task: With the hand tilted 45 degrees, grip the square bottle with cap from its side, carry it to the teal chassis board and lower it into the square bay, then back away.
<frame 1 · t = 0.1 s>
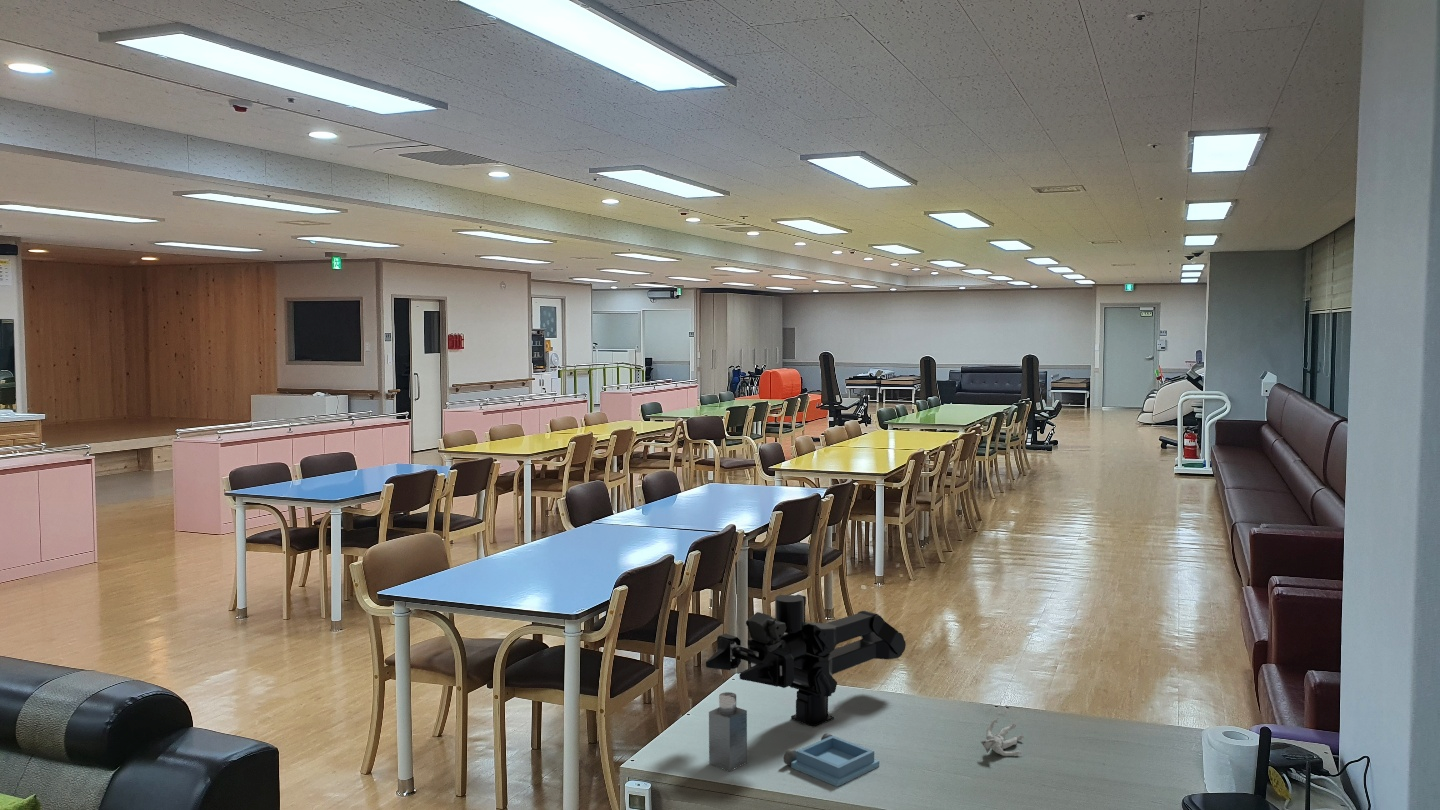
hand: (722, 670, 196), 17 cm above the table, tool horizontal, fingers open, 9 cm apart
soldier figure: (1002, 750, 200), on the table
chassis: (835, 766, 192), on the table
square bottle with cap: (728, 763, 194), on the table
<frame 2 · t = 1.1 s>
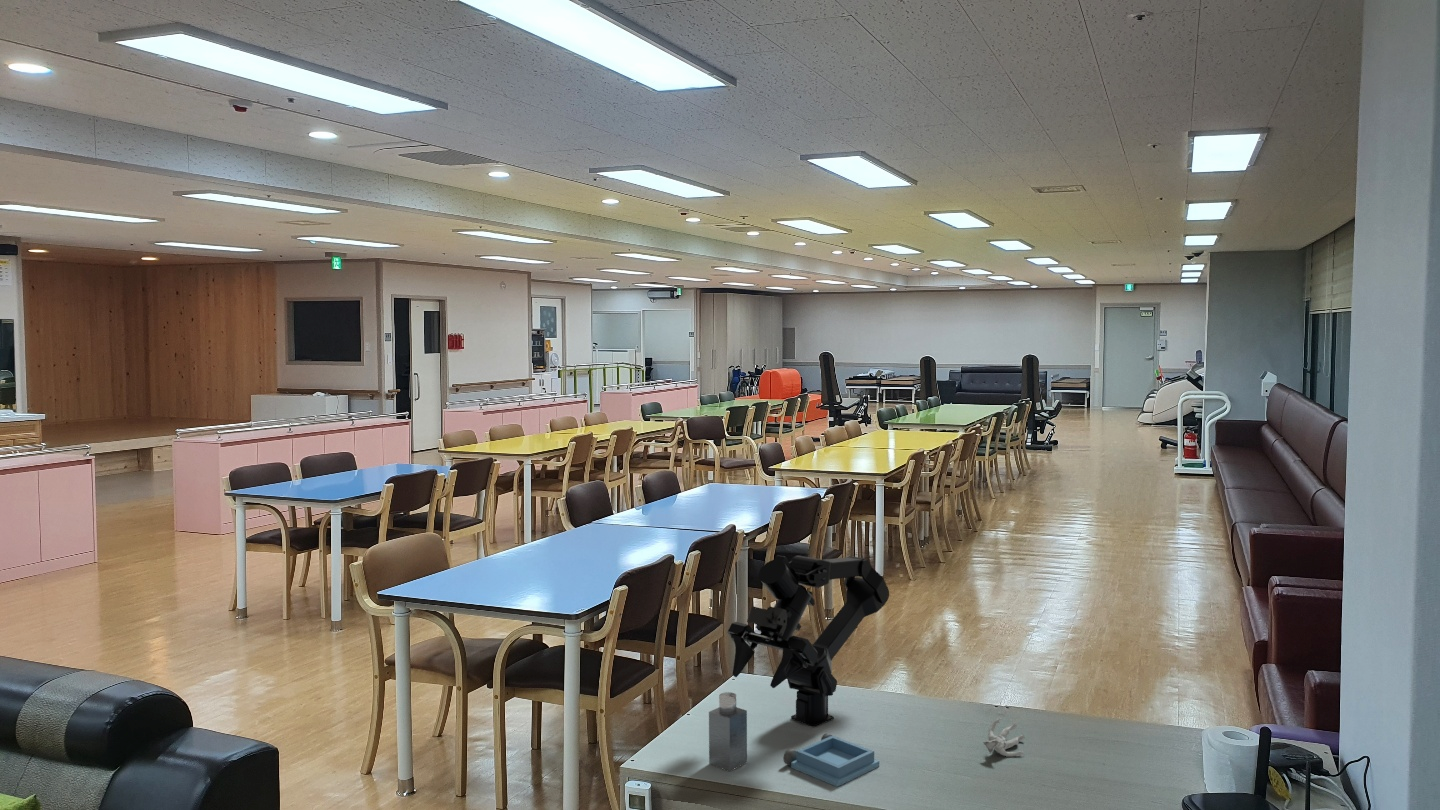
hand: (752, 681, 199), 14 cm above the table, tool tilted 45°, fingers open, 9 cm apart
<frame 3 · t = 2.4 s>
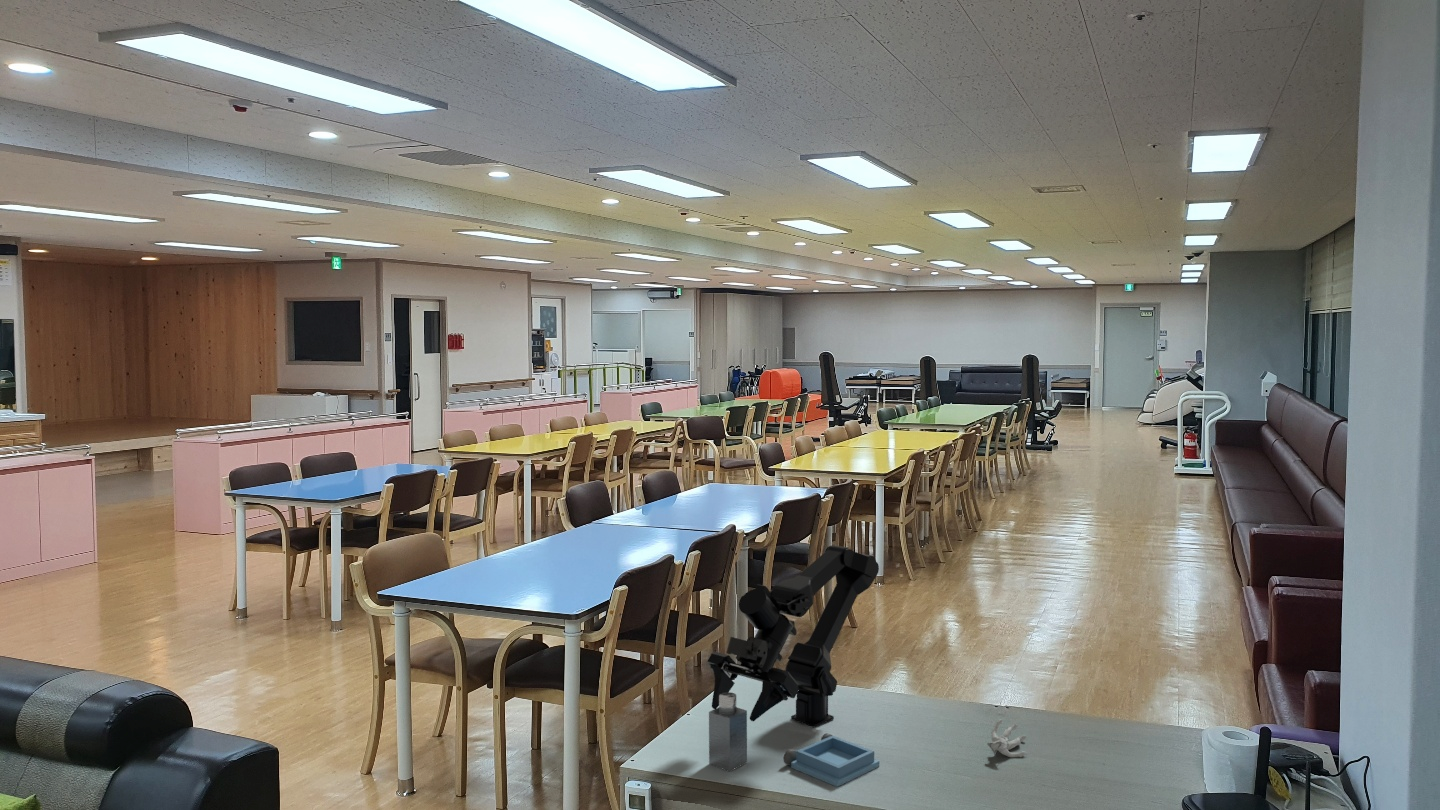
hand: (731, 714, 194), 9 cm above the table, tool tilted 45°, fingers open, 9 cm apart
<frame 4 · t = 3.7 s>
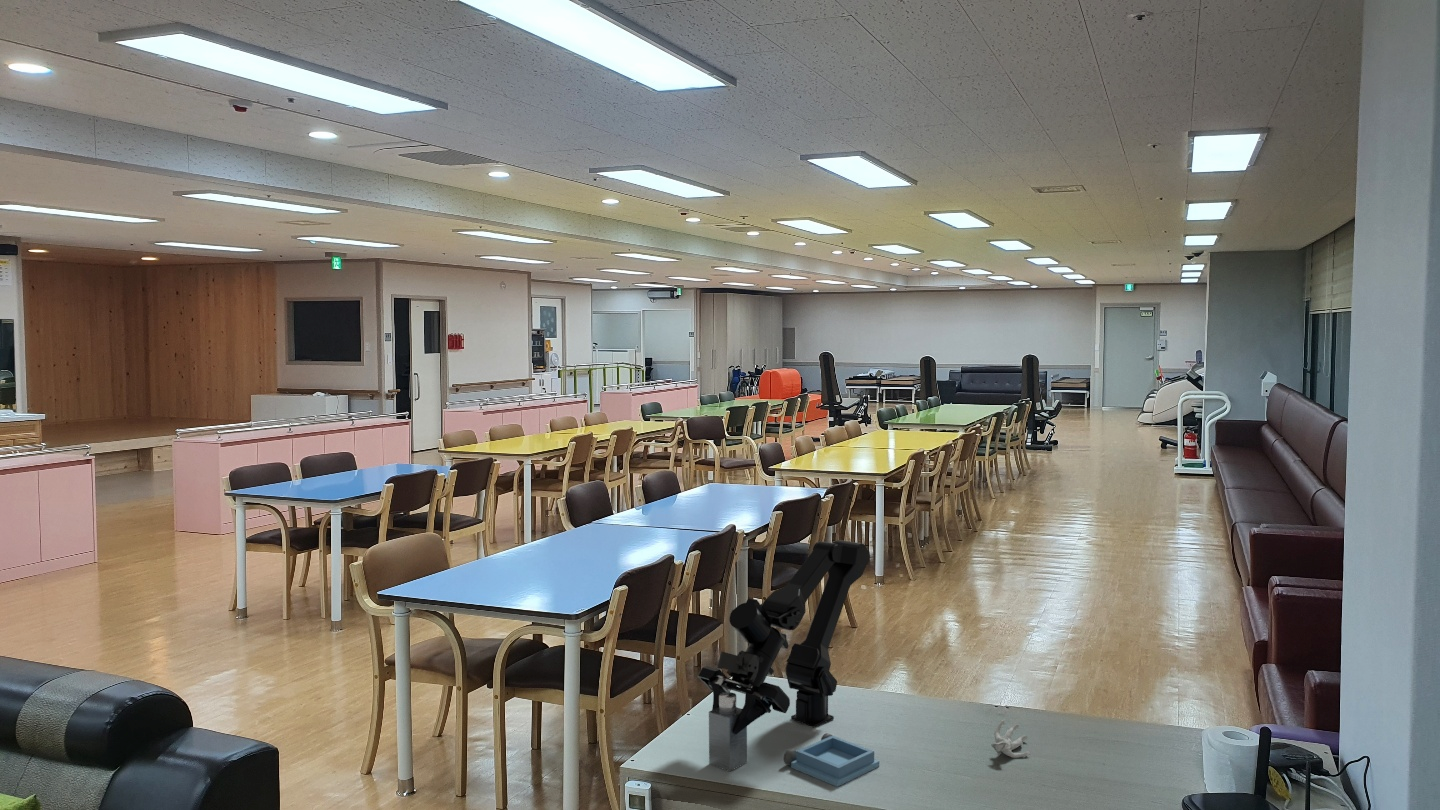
hand: (722, 729, 192), 7 cm above the table, tool tilted 45°, fingers closed on square bottle with cap, 5 cm apart
square bottle with cap: (728, 763, 194), on the table, touching gripper
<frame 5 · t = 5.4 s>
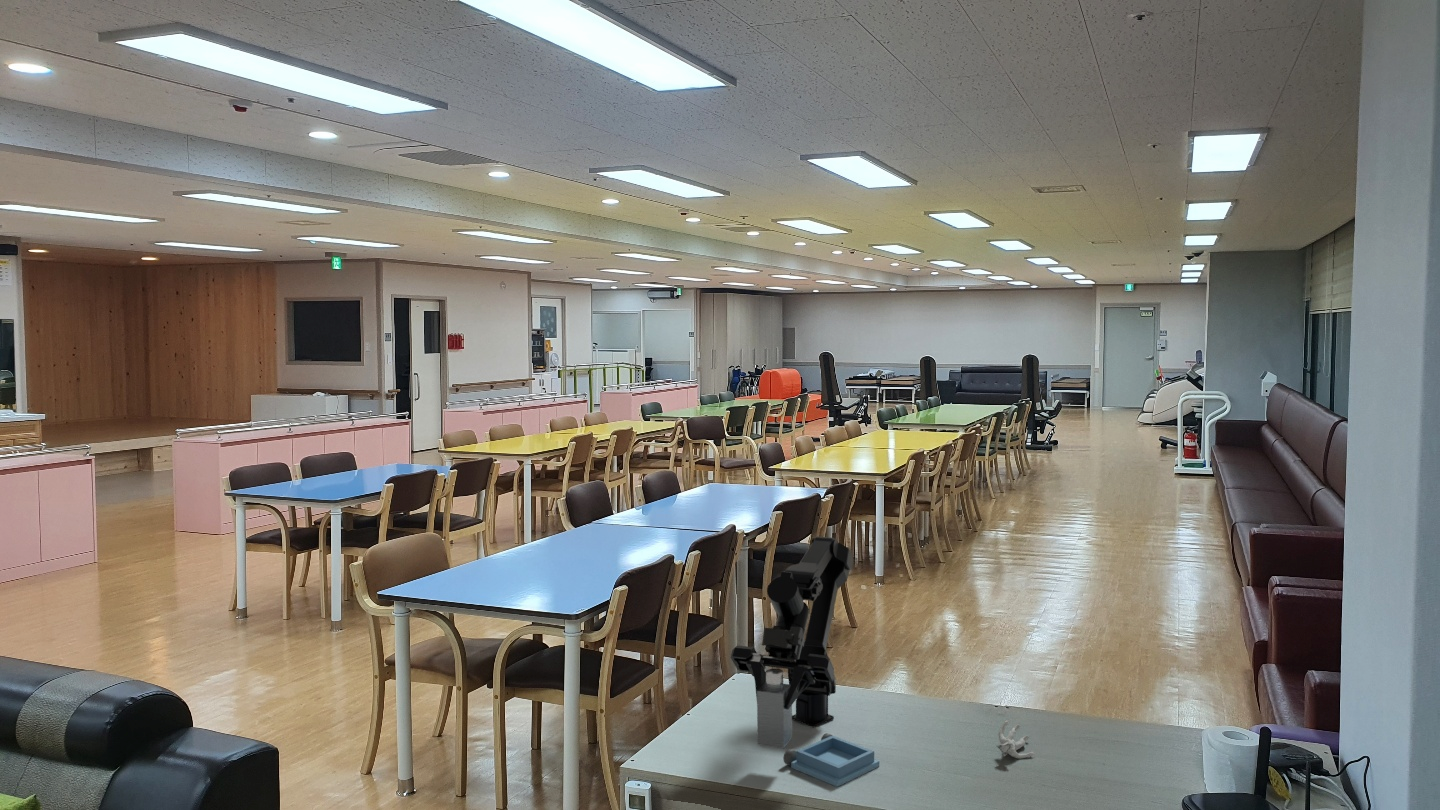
hand: (772, 706, 189), 12 cm above the table, tool tilted 45°, fingers closed on square bottle with cap, 5 cm apart
square bottle with cap: (774, 740, 191), point 5 cm above the table, touching gripper
when the fingers open (9 cm above the table, at t = 7.2 s): square bottle with cap stays where it is, resting on chassis.
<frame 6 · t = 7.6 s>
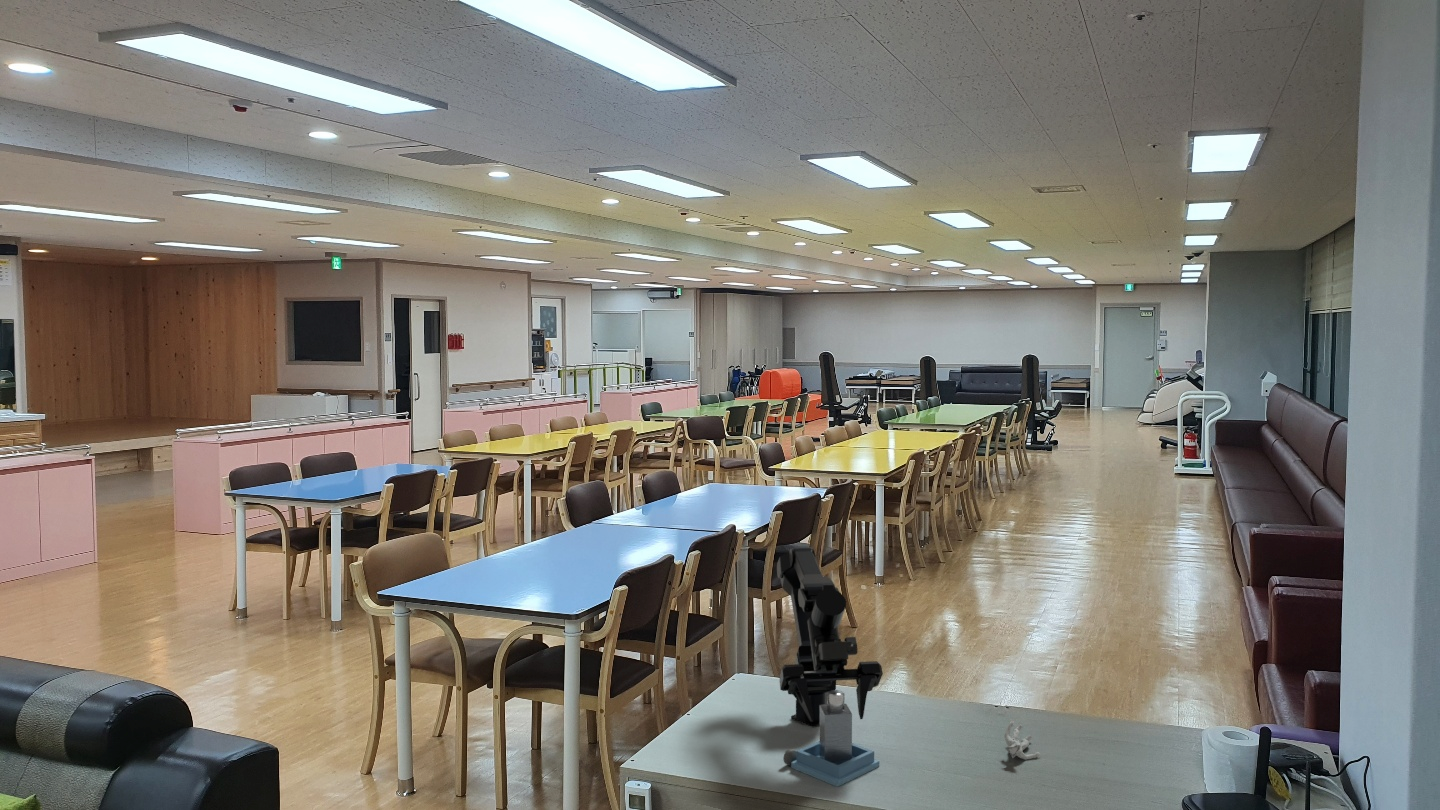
hand: (837, 719, 190), 10 cm above the table, tool tilted 45°, fingers open, 9 cm apart
square bottle with cap: (835, 761, 192), point 1 cm above the table, touching chassis
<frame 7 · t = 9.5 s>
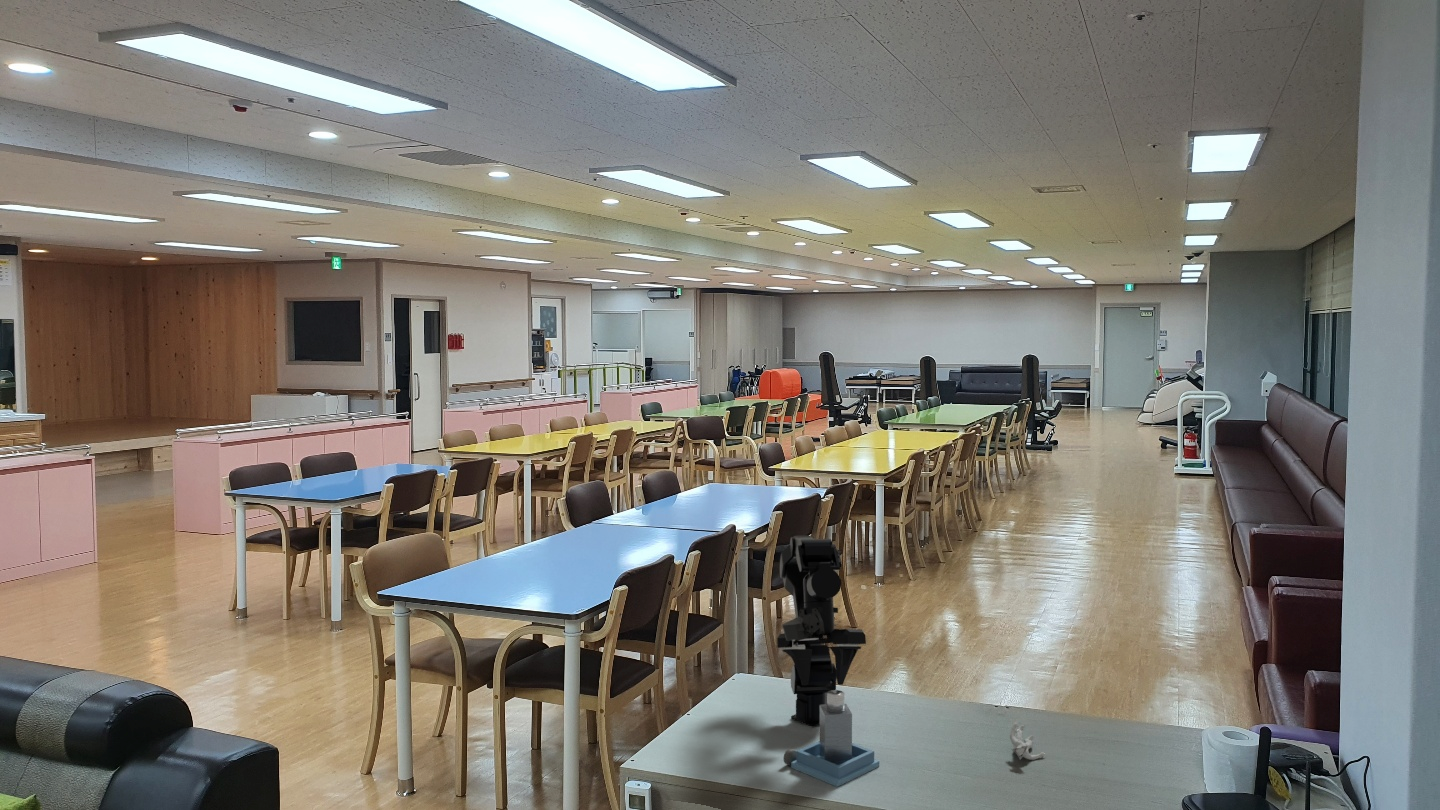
hand: (822, 685, 200), 12 cm above the table, tool tilted 20°, fingers open, 9 cm apart
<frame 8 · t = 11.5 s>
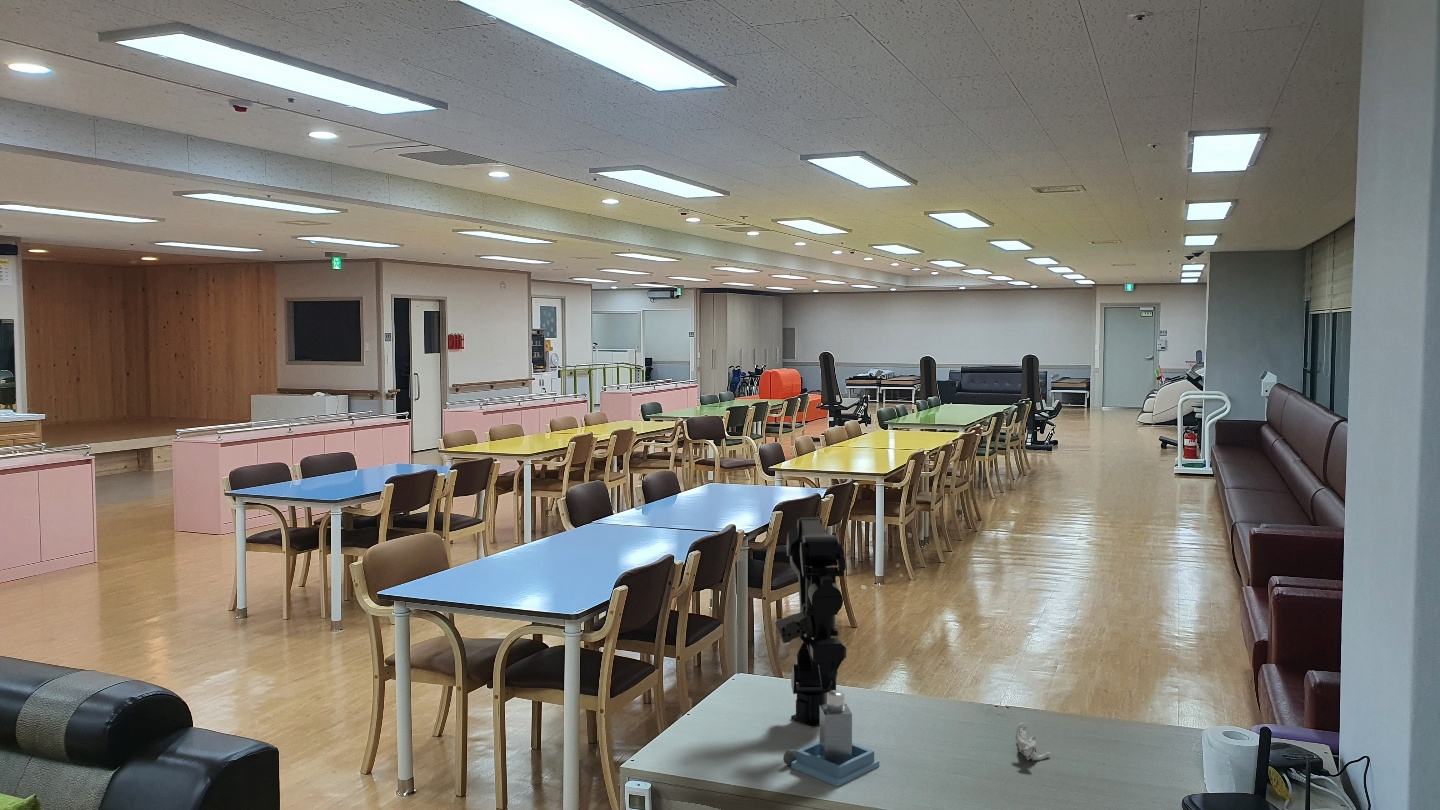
hand: (820, 680, 200), 13 cm above the table, tool pointing down, fingers open, 9 cm apart
at the end: square bottle with cap 0.1 cm off-centre on the chassis, point 1.0 cm above the chassis's base; square bottle with cap tilted 0°; the gripper is holding nothing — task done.
